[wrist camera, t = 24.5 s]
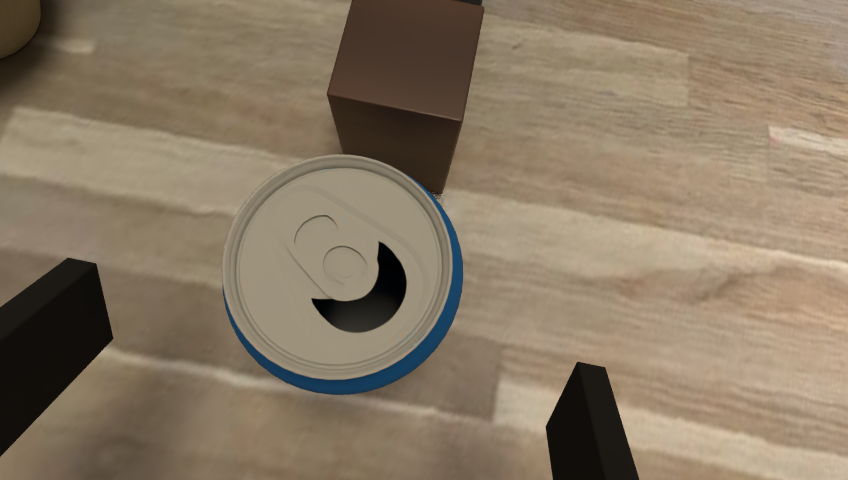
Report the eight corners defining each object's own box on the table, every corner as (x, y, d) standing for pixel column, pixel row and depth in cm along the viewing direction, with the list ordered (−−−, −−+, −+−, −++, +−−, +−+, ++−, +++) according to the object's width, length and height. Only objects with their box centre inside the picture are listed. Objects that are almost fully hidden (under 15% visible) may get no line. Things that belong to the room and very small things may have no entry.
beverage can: (360, 405, 22) (319, 462, 11) (274, 301, 23) (148, 249, 11) (461, 312, 23) (523, 272, 12) (375, 217, 24) (354, 92, 13)
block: (442, 194, 25) (462, 122, 17) (348, 175, 25) (325, 94, 17) (458, 109, 26) (485, 5, 18) (369, 91, 26) (357, -21, 18)
